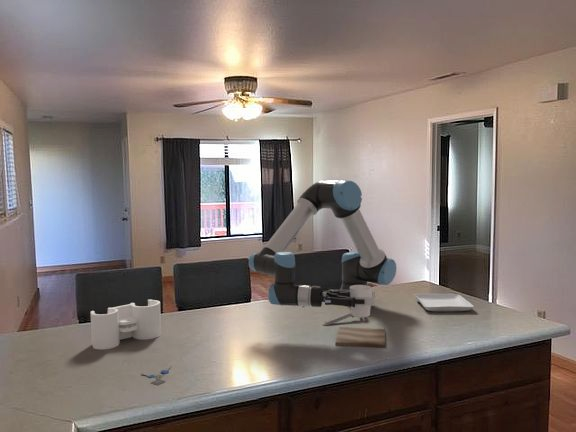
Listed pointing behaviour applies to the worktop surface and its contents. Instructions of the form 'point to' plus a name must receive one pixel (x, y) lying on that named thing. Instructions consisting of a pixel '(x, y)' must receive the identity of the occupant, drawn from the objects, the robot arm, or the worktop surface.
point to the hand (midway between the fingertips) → (374, 298)
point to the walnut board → (361, 337)
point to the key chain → (158, 377)
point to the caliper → (340, 318)
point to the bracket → (125, 324)
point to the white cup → (360, 292)
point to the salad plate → (443, 302)
